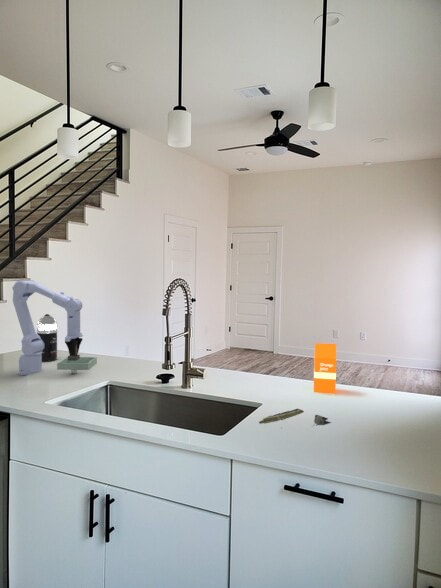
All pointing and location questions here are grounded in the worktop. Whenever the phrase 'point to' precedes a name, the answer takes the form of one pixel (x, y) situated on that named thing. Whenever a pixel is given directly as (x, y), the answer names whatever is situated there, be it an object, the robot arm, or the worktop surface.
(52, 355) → the spray bottle
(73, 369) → the stud plate
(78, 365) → the bin
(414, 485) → the worktop surface
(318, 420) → the dried leaves
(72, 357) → the strut
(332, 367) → the orange juice
